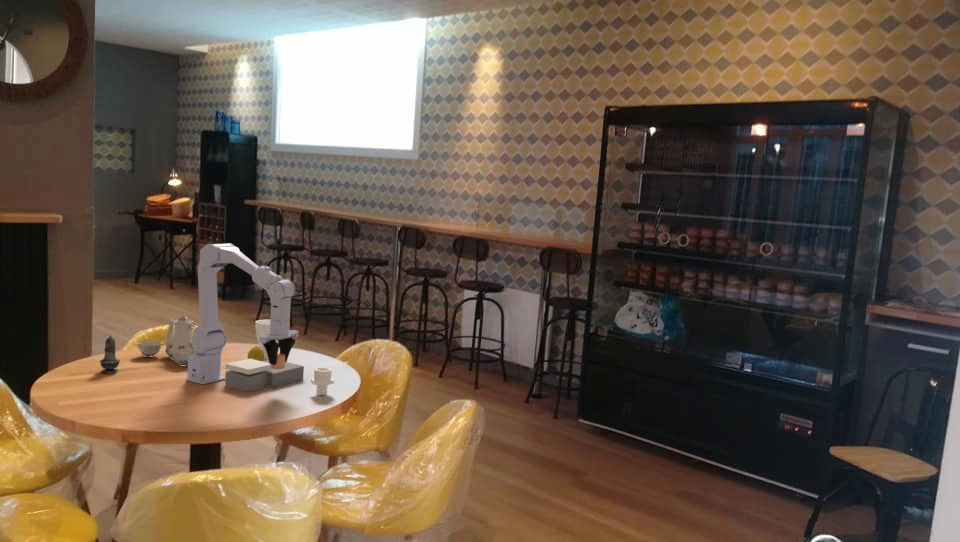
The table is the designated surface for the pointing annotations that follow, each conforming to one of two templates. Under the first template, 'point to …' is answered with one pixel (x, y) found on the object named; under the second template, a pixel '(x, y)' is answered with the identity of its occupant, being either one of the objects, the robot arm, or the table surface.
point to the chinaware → (173, 342)
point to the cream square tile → (248, 366)
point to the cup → (263, 333)
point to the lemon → (256, 354)
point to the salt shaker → (109, 357)
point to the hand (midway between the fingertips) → (278, 362)
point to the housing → (264, 377)
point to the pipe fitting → (322, 380)
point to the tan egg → (279, 362)
